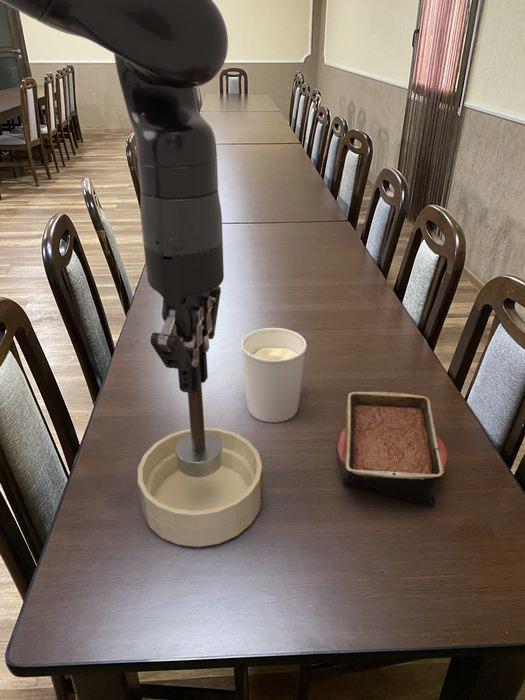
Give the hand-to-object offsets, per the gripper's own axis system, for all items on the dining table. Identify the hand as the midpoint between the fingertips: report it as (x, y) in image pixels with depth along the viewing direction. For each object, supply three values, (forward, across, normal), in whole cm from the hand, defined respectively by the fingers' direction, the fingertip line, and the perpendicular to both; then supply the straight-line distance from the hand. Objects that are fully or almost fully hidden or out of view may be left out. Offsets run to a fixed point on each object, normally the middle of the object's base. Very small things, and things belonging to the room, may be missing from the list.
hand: (193, 385), depth 60 cm
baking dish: (+19, -13, +23) cm, 32 cm away
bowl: (+18, 0, 0) cm, 18 cm away
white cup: (+19, -22, +4) cm, 29 cm away
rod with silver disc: (+11, 0, 0) cm, 11 cm away
